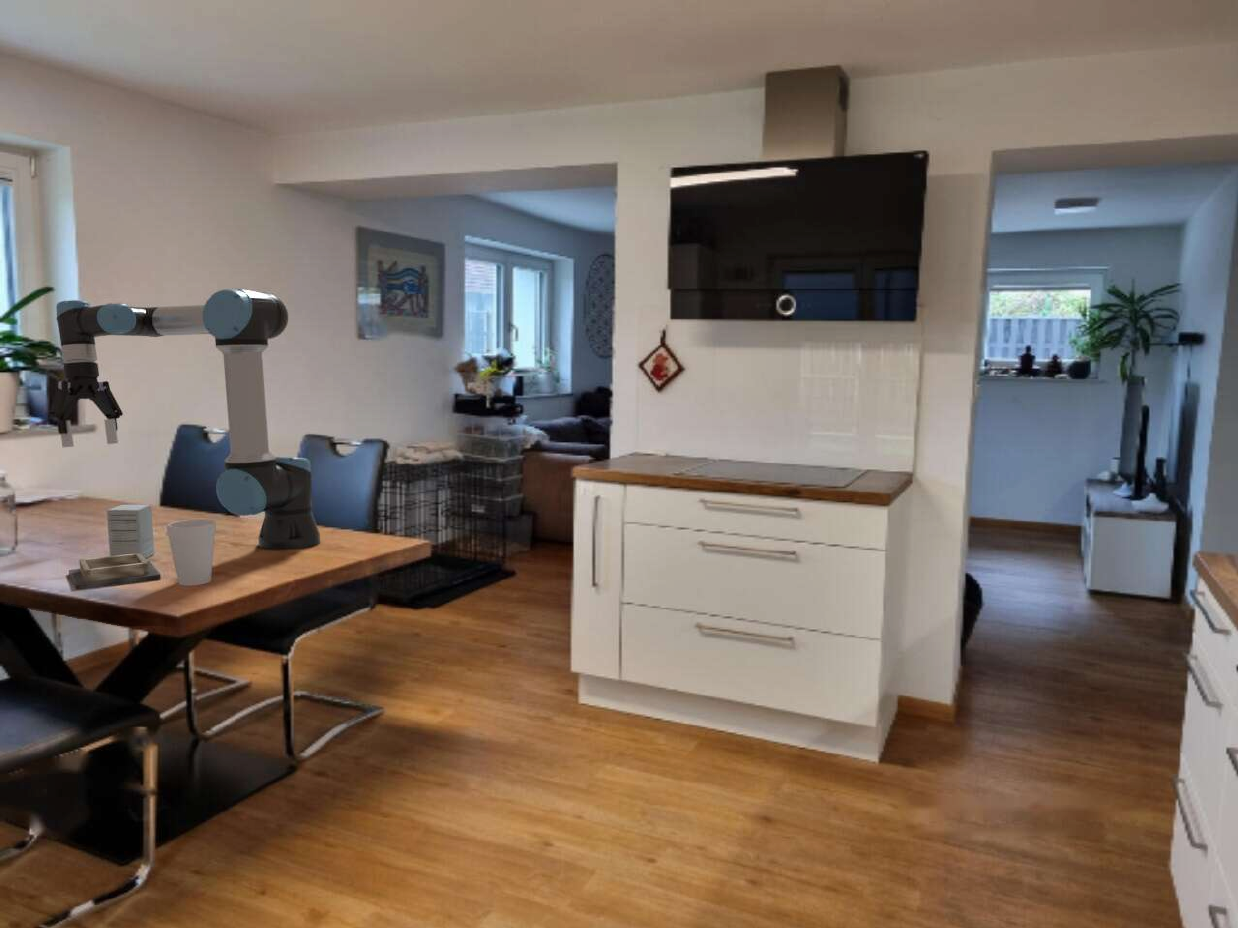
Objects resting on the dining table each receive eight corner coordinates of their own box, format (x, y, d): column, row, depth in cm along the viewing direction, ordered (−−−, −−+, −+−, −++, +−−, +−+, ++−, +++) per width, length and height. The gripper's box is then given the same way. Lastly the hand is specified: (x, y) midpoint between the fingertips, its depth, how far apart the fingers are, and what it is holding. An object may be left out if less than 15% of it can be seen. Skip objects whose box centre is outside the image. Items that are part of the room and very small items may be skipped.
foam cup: (225, 576, 194) (222, 519, 192) (207, 587, 185) (204, 527, 183) (182, 576, 193) (179, 519, 192) (162, 587, 184) (158, 527, 183)
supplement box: (124, 554, 214) (121, 504, 212) (155, 554, 214) (152, 504, 213) (109, 561, 207) (105, 509, 205) (141, 561, 207) (137, 509, 205)
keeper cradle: (149, 564, 204) (148, 550, 203) (160, 578, 191) (159, 563, 191) (69, 574, 194) (68, 559, 194) (75, 590, 182) (74, 573, 181)
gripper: (108, 365, 234) (118, 443, 235) (24, 362, 209) (35, 449, 211) (131, 362, 232) (141, 441, 233) (48, 359, 208) (60, 447, 209)
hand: (91, 445), depth 222 cm, fingers open, 13 cm apart
